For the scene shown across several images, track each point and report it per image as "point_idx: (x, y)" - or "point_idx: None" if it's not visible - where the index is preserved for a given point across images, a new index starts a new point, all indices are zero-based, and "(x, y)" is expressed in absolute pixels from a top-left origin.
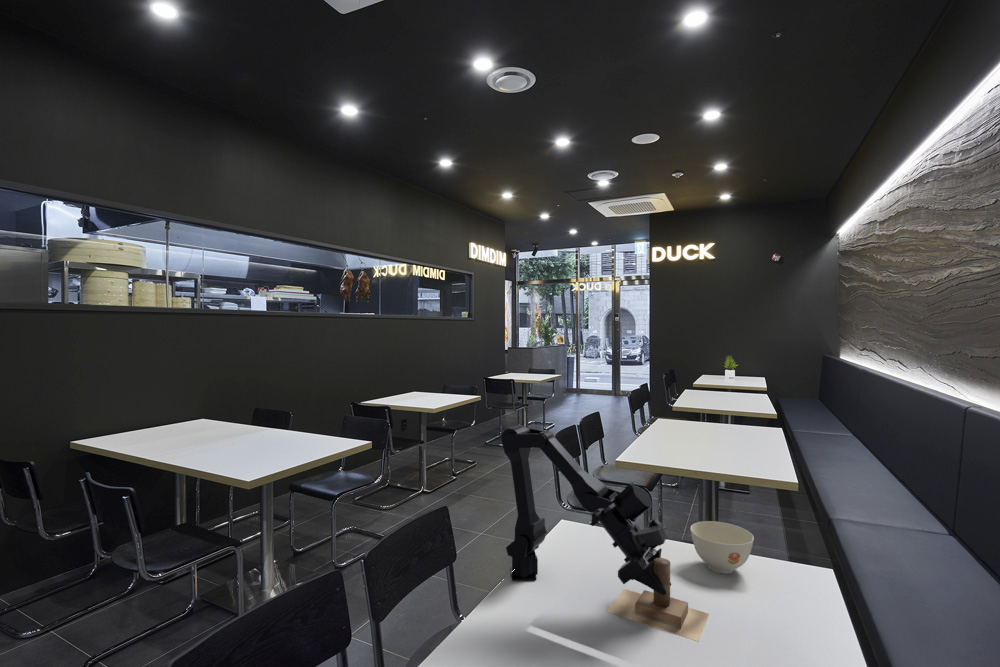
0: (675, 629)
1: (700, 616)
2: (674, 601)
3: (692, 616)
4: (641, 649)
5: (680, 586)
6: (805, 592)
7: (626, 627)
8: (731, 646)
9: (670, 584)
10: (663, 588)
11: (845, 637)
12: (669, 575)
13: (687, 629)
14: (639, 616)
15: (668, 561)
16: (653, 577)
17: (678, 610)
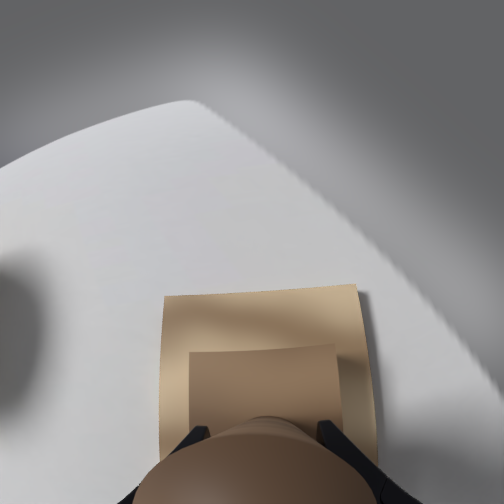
0: (342, 367)
1: (198, 317)
2: (215, 406)
3: (214, 341)
4: (468, 407)
5: (37, 406)
6: (24, 175)
7: None
8: (287, 222)
9: (207, 428)
10: (344, 436)
11: (138, 112)
12: (274, 425)
13: (314, 333)
14: None
15: (193, 469)
16: (412, 501)
17: (287, 370)
